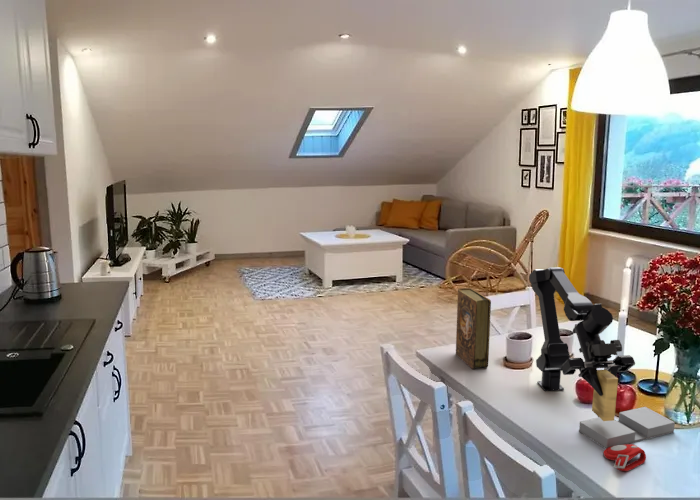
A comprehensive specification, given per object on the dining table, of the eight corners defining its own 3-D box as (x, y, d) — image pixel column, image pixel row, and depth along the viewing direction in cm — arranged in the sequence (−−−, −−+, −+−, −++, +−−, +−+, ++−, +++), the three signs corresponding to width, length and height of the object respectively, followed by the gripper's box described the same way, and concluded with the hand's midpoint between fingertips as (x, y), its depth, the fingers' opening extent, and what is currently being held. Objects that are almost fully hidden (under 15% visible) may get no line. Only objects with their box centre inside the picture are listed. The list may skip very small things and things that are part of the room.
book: (454, 353, 221) (456, 288, 215) (467, 352, 222) (470, 287, 217) (473, 370, 205) (476, 301, 200) (488, 368, 206) (491, 300, 201)
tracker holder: (595, 445, 155) (632, 436, 155) (600, 462, 155) (637, 453, 154) (615, 461, 143) (655, 451, 142) (620, 479, 142) (660, 469, 142)
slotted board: (579, 431, 164) (579, 421, 163) (644, 416, 172) (645, 406, 172) (606, 449, 155) (607, 438, 154) (673, 432, 163) (674, 422, 162)
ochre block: (591, 410, 163) (595, 370, 161) (602, 409, 164) (605, 369, 161) (603, 421, 157) (607, 379, 155) (614, 420, 158) (618, 378, 155)
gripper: (569, 330, 158) (587, 386, 150) (634, 327, 161) (655, 382, 152) (554, 347, 168) (570, 400, 159) (616, 344, 170) (634, 397, 161)
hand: (607, 395), depth 158 cm, fingers closed on ochre block, 3 cm apart
